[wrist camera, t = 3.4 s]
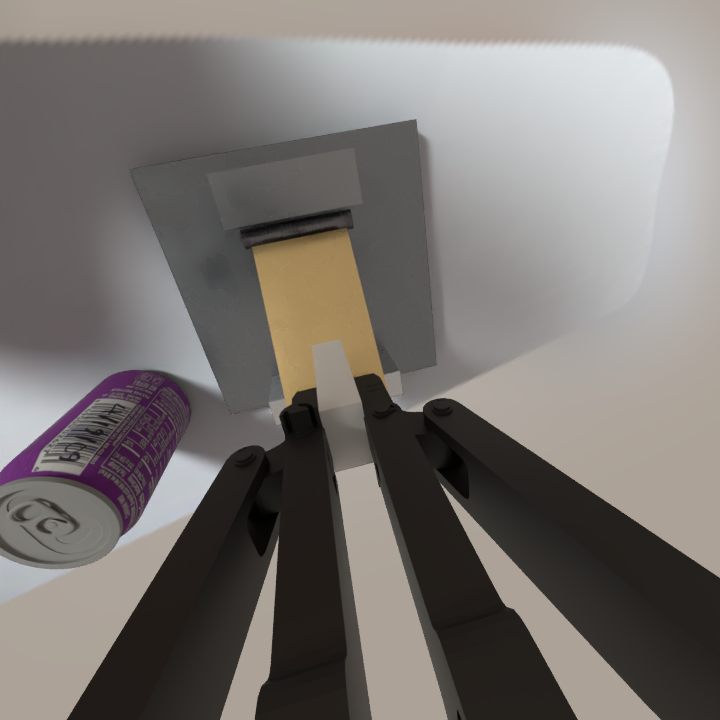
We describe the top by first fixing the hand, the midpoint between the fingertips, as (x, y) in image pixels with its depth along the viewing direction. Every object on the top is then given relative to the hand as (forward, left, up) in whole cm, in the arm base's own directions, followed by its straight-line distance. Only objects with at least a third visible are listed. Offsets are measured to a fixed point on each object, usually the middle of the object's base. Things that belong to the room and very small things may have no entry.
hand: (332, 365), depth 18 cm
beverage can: (-8, -14, -11) cm, 19 cm away
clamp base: (-2, +2, -10) cm, 11 cm away
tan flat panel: (-1, +1, -5) cm, 5 cm away
